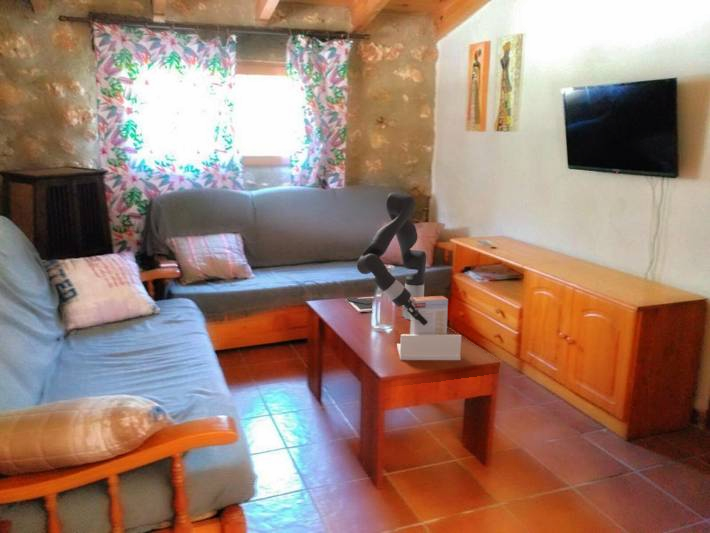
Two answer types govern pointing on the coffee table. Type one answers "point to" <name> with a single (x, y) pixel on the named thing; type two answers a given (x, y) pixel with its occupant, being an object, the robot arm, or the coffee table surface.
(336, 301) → the coffee table surface
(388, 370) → the coffee table surface
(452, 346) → the book rack
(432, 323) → the cracker box
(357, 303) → the picture frame
